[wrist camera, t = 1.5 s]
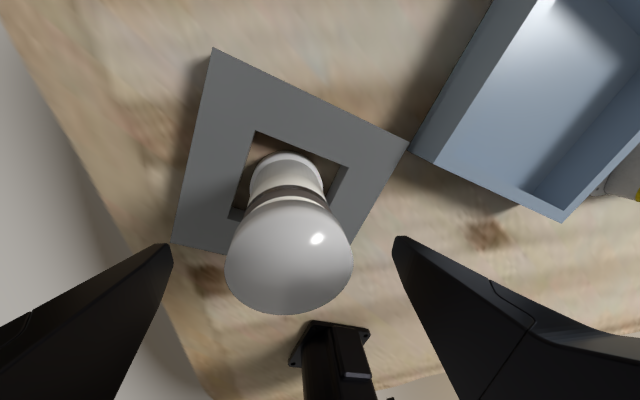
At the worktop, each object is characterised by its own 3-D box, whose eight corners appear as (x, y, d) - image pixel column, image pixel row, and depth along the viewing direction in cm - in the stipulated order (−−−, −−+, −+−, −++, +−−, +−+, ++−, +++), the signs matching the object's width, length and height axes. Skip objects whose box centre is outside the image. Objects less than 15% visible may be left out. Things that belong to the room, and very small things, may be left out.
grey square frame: (327, 264, 19) (330, 278, 17) (179, 228, 15) (169, 242, 14) (398, 137, 15) (409, 142, 13) (220, 51, 11) (212, 46, 10)
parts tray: (522, 204, 19) (561, 223, 16) (406, 150, 15) (433, 163, 13) (657, 45, 15) (740, 36, 12) (541, -83, 11) (624, -136, 8)
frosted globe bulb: (305, 220, 16) (322, 322, 9) (243, 201, 15) (210, 304, 8) (330, 165, 15) (375, 238, 8) (264, 139, 14) (246, 198, 6)
